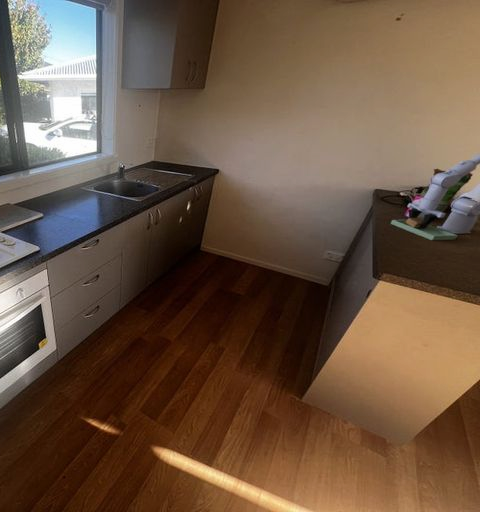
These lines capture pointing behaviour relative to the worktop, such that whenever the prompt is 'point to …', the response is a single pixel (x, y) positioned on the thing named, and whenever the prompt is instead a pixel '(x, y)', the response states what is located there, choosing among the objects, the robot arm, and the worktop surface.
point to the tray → (426, 231)
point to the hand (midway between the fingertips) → (415, 226)
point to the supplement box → (416, 201)
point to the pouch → (450, 192)
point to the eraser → (415, 222)
